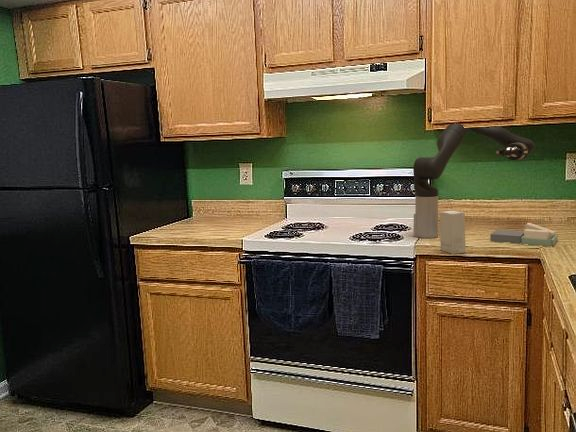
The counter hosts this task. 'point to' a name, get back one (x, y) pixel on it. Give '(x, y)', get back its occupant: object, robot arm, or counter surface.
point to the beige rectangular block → (536, 227)
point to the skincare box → (452, 231)
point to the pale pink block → (536, 234)
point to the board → (506, 236)
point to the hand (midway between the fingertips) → (507, 153)
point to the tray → (539, 241)
